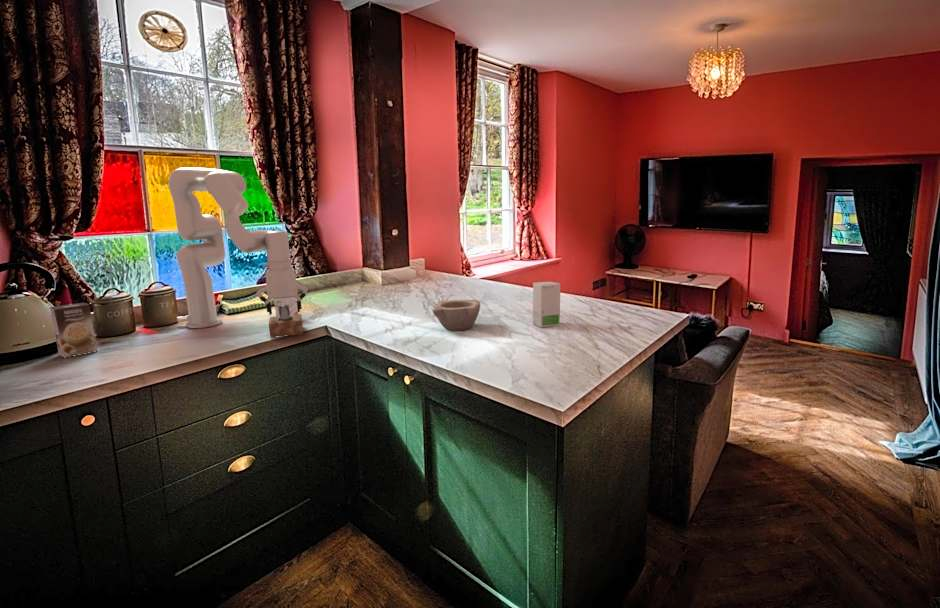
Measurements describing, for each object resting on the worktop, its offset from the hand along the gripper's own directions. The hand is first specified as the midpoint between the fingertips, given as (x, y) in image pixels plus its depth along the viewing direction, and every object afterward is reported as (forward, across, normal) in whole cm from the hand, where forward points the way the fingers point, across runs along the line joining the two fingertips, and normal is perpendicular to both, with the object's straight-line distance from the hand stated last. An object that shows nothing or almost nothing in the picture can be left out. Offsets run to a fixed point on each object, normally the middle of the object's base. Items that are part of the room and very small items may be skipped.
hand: (284, 312), depth 179 cm
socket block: (+7, 0, 0) cm, 7 cm away
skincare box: (+7, +90, -30) cm, 95 cm away
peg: (+7, 0, 0) cm, 7 cm away
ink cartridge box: (+8, 0, +19) cm, 20 cm away
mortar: (+8, +59, -20) cm, 63 cm away
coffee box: (+7, -64, +1) cm, 64 cm away
